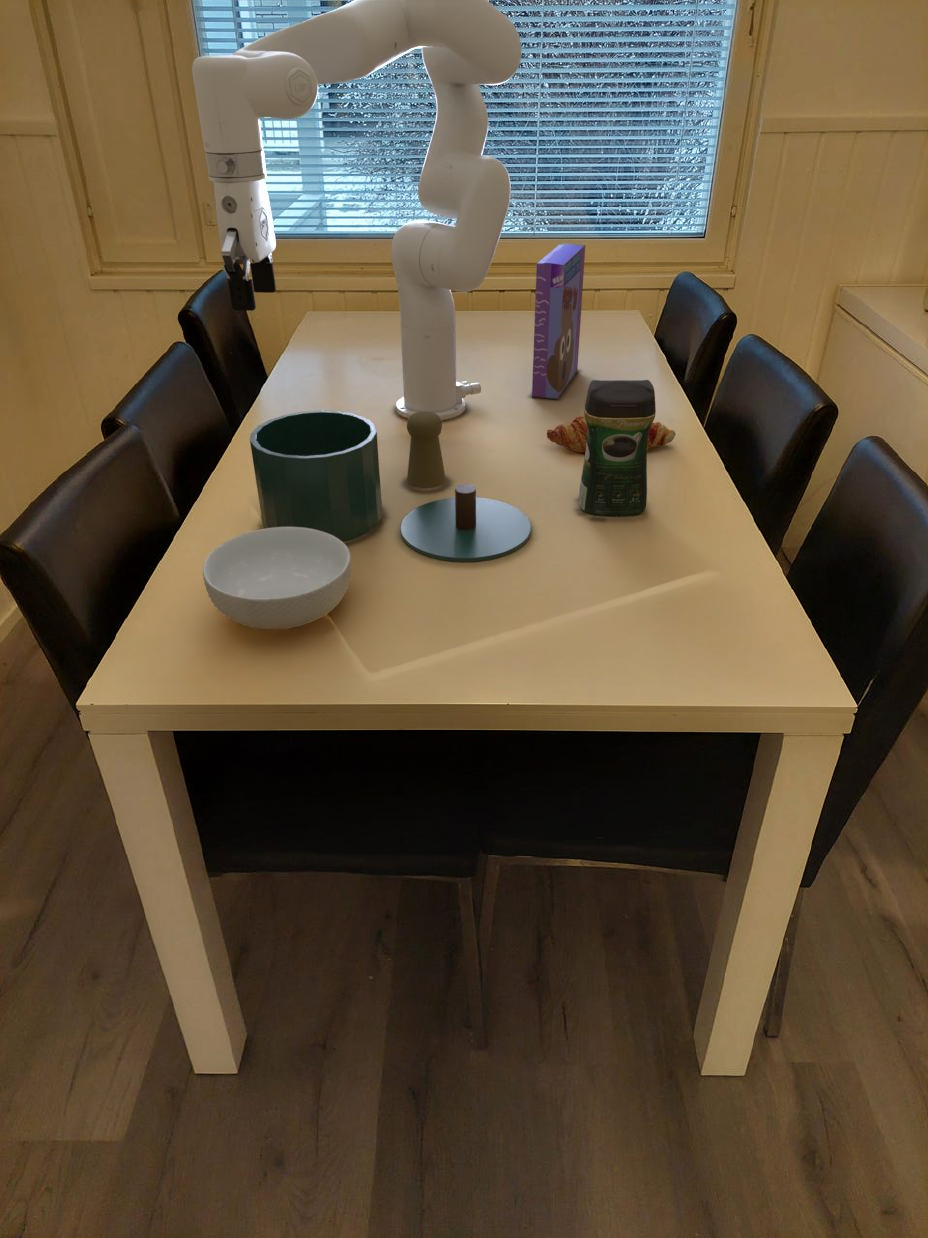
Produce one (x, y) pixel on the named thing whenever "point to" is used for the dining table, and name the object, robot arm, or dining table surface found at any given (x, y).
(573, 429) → the croissant
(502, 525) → the tin lid
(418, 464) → the olive brown pawn
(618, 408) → the coffee jar
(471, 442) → the dining table surface
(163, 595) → the dining table surface
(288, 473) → the tin
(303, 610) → the cereal bowl
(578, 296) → the cereal box
